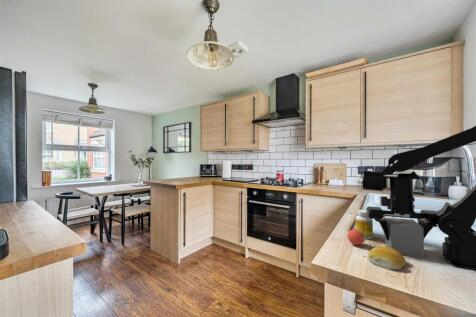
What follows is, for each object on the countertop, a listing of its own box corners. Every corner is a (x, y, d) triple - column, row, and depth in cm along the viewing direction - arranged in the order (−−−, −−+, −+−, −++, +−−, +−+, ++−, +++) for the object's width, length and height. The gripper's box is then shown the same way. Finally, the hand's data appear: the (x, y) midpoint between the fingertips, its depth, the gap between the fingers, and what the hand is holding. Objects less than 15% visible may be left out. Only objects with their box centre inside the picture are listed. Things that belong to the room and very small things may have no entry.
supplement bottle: (360, 233, 77) (359, 208, 77) (375, 237, 73) (375, 211, 73) (353, 236, 74) (352, 210, 74) (369, 240, 70) (368, 213, 70)
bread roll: (407, 262, 56) (407, 248, 56) (400, 274, 50) (399, 259, 50) (373, 252, 62) (373, 239, 62) (363, 262, 56) (363, 248, 56)
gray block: (414, 246, 64) (413, 219, 64) (424, 257, 57) (423, 227, 57) (385, 243, 68) (384, 217, 68) (391, 252, 61) (390, 224, 61)
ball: (363, 242, 68) (363, 228, 68) (366, 248, 64) (365, 233, 64) (347, 240, 70) (346, 226, 70) (348, 246, 66) (347, 231, 66)
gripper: (428, 190, 66) (430, 236, 66) (363, 188, 74) (364, 229, 74) (446, 196, 56) (448, 251, 56) (368, 192, 64) (369, 241, 64)
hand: (402, 241), depth 62 cm, fingers closed on gray block, 8 cm apart
